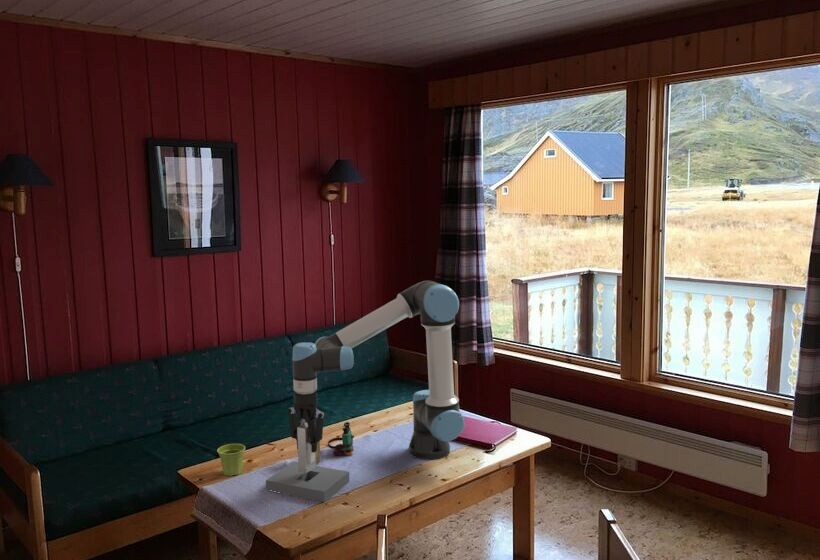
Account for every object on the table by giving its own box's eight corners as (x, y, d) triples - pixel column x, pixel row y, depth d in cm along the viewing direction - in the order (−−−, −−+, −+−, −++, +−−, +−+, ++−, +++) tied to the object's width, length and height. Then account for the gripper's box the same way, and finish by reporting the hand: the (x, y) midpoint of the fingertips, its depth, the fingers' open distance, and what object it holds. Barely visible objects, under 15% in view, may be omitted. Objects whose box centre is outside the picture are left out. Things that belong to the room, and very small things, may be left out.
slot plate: (349, 481, 227) (349, 471, 227) (324, 502, 213) (324, 491, 212) (293, 471, 236) (293, 461, 236) (266, 490, 222) (265, 480, 221)
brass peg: (322, 460, 245) (322, 428, 243) (315, 466, 240) (314, 433, 238) (309, 458, 247) (309, 426, 245) (301, 463, 242) (300, 431, 240)
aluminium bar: (316, 466, 226) (315, 422, 224) (306, 473, 220) (305, 428, 218) (308, 464, 227) (307, 421, 225) (298, 471, 221) (297, 427, 219)
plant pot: (212, 476, 233) (211, 452, 232) (229, 465, 242) (227, 442, 240) (236, 480, 230) (234, 455, 228) (251, 469, 238) (250, 445, 237)
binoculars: (327, 423, 256) (353, 420, 255) (330, 449, 257) (357, 447, 257) (323, 431, 247) (351, 428, 246) (327, 459, 248) (354, 456, 248)
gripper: (277, 391, 220) (280, 460, 223) (320, 397, 213) (322, 468, 217) (290, 384, 226) (292, 452, 230) (332, 390, 220) (334, 459, 223)
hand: (307, 460), depth 223 cm, fingers closed on aluminium bar, 3 cm apart
